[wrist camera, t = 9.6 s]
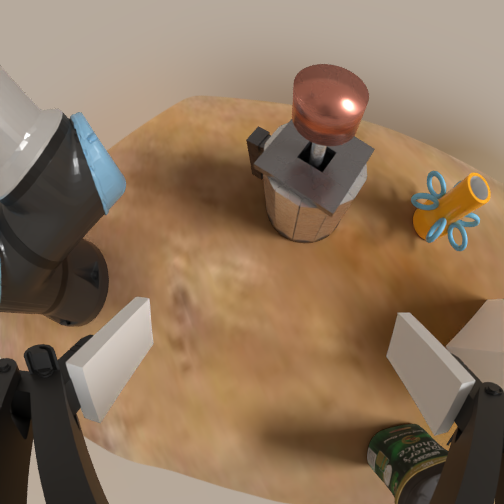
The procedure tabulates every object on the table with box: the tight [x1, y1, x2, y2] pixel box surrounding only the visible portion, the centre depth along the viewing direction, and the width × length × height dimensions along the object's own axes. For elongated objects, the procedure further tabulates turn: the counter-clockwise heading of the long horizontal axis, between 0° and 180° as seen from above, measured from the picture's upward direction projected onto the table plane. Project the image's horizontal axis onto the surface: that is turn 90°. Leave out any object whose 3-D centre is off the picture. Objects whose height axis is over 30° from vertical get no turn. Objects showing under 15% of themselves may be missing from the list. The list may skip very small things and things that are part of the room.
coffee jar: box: [367, 424, 449, 504], centre depth 24 cm, size 10×8×19 cm
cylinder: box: [411, 171, 490, 251], centre depth 33 cm, size 12×10×15 cm
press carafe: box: [246, 119, 374, 243], centre depth 35 cm, size 14×11×15 cm
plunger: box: [292, 64, 369, 171], centre depth 29 cm, size 6×6×22 cm
